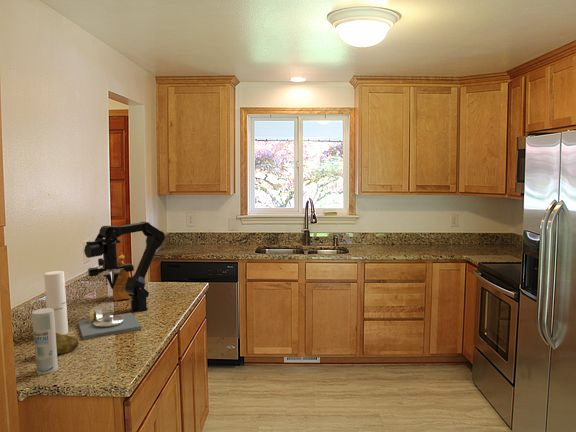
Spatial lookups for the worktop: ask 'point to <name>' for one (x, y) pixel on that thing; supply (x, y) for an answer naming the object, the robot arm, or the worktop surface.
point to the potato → (65, 343)
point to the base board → (93, 332)
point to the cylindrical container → (57, 299)
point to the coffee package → (121, 282)
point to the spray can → (45, 340)
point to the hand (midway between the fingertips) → (112, 288)
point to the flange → (105, 319)
